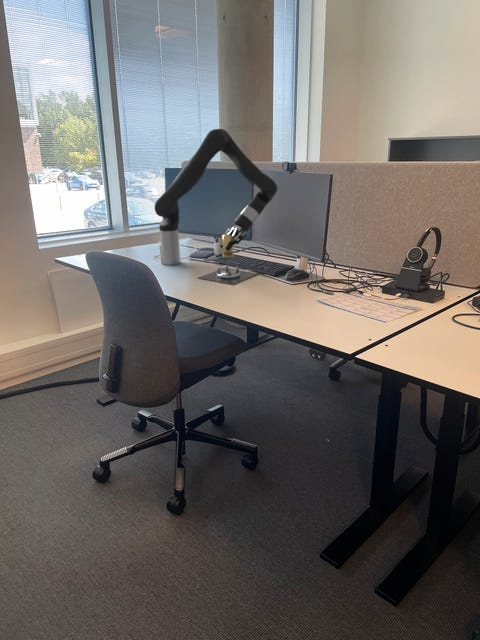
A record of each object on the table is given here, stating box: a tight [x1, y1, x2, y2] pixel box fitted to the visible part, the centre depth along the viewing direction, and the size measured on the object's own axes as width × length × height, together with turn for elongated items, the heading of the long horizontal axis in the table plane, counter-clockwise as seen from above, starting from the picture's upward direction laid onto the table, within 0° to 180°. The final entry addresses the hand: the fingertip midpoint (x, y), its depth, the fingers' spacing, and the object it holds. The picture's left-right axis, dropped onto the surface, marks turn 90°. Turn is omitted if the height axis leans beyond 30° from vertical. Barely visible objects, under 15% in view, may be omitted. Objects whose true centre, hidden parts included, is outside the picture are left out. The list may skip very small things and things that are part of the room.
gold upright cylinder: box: [221, 233, 235, 259], centre depth 204 cm, size 5×5×10 cm
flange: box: [197, 264, 260, 286], centre depth 208 cm, size 20×20×4 cm
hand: (224, 248), depth 203 cm, fingers closed on gold upright cylinder, 4 cm apart
